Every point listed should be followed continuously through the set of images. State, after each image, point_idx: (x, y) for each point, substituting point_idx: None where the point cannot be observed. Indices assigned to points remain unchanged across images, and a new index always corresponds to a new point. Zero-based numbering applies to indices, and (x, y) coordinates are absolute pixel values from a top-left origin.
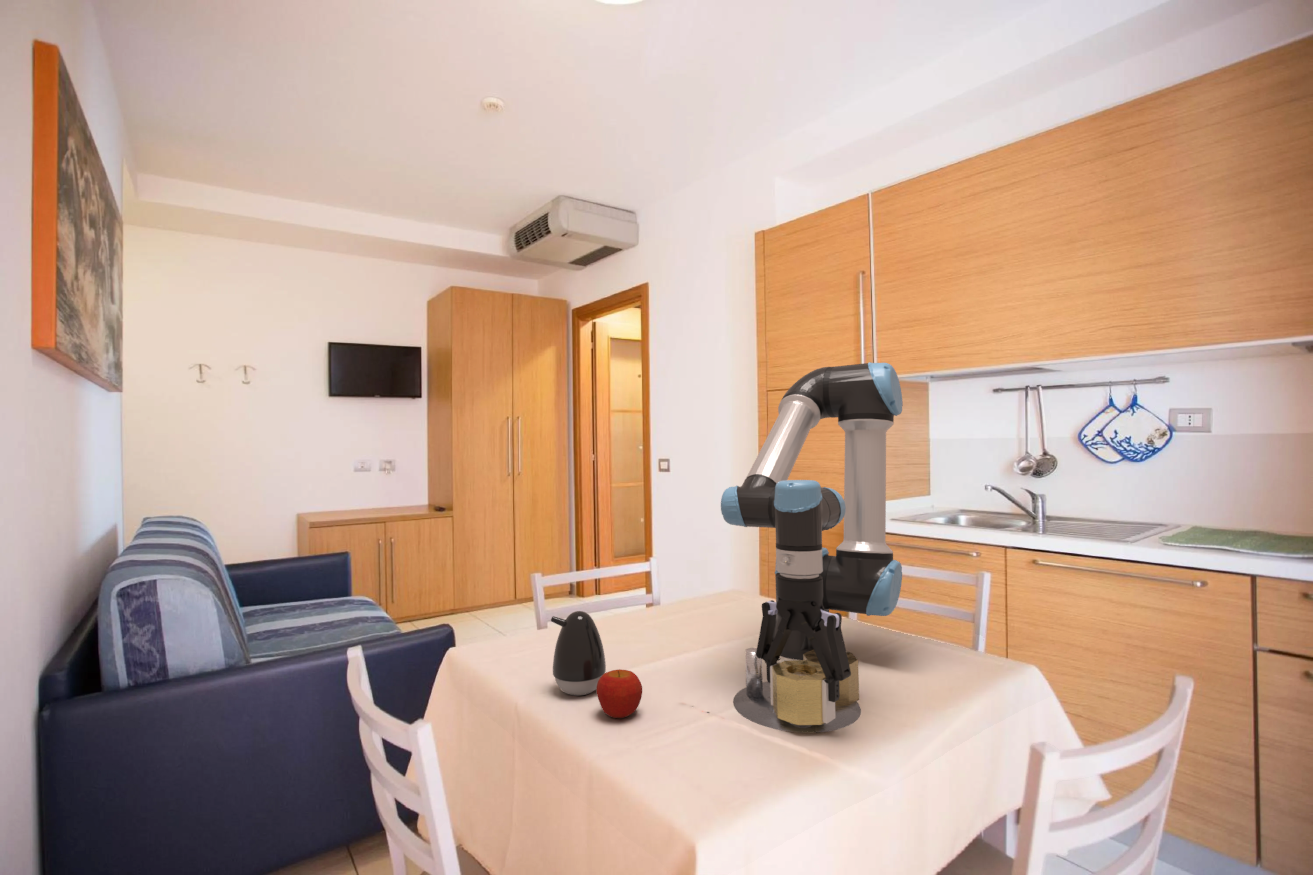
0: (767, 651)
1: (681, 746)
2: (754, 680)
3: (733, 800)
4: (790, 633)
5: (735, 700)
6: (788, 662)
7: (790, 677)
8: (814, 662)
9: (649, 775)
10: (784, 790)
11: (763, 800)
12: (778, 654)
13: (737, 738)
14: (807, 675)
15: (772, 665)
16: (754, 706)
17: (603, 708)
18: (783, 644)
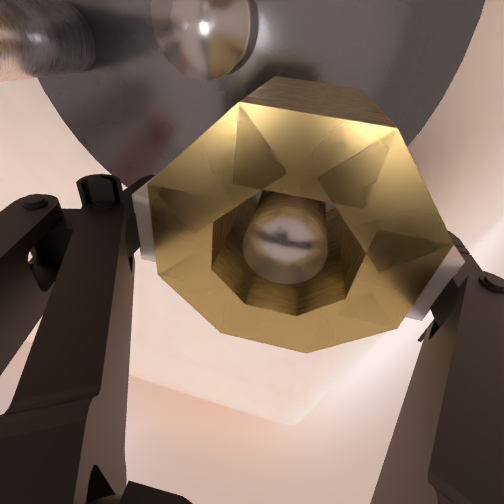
0: (56, 237)
1: (158, 320)
2: (47, 72)
3: (291, 387)
4: (105, 365)
5: (77, 130)
6: (179, 200)
7: (275, 340)
8: (305, 114)
9: (184, 375)
10: (342, 361)
11: (324, 381)
12: (126, 252)
13: None
14: (330, 307)
15: (143, 248)
16: (138, 138)
17: None
18: (121, 303)
